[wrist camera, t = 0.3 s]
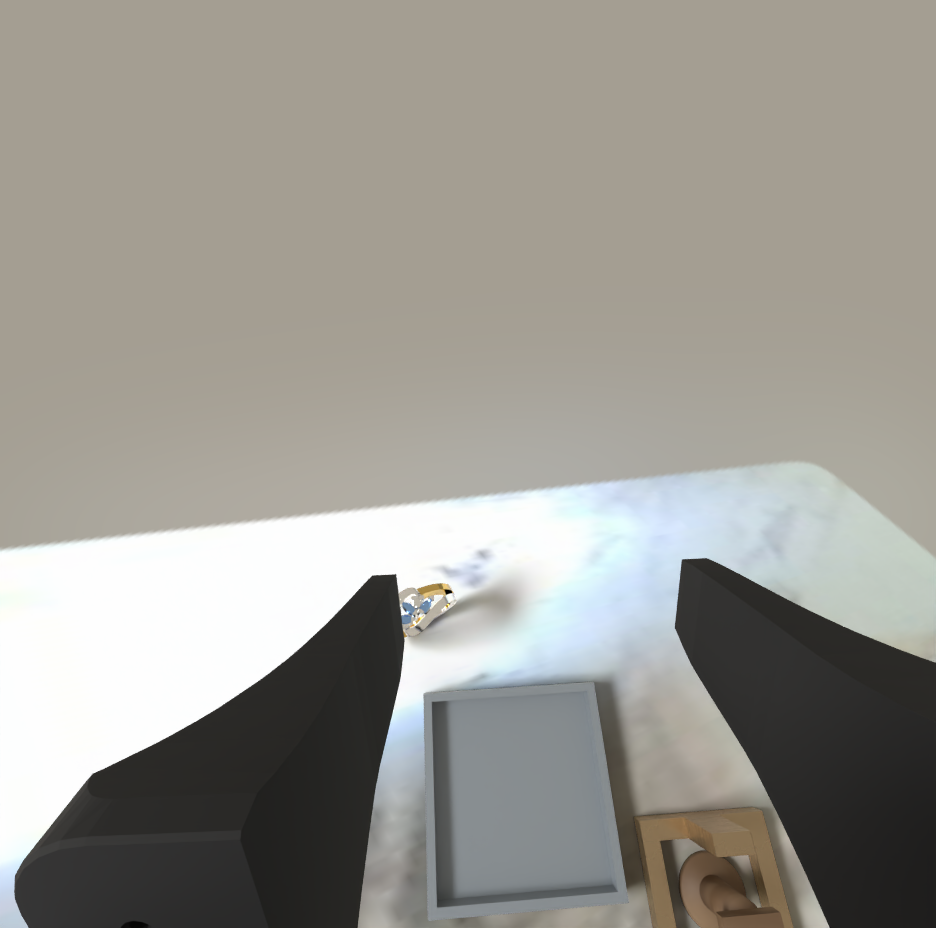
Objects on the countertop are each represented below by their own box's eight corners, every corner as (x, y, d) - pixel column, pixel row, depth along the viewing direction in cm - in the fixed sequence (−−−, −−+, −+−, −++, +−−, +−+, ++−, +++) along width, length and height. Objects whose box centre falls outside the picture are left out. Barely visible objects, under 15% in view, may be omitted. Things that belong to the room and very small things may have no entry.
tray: (619, 890, 33) (628, 902, 31) (429, 907, 32) (427, 920, 30) (587, 682, 38) (593, 682, 36) (425, 692, 38) (423, 693, 36)
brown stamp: (751, 929, 32) (802, 972, 27) (687, 934, 32) (728, 979, 27) (731, 848, 34) (777, 875, 29) (672, 853, 34) (707, 881, 29)
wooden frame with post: (795, 971, 31) (856, 1023, 26) (662, 984, 31) (699, 1039, 26) (752, 807, 35) (798, 826, 30) (633, 816, 34) (661, 837, 30)
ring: (447, 587, 41) (445, 567, 34) (464, 621, 40) (465, 607, 33) (373, 624, 40) (355, 611, 33) (388, 661, 39) (372, 656, 31)
